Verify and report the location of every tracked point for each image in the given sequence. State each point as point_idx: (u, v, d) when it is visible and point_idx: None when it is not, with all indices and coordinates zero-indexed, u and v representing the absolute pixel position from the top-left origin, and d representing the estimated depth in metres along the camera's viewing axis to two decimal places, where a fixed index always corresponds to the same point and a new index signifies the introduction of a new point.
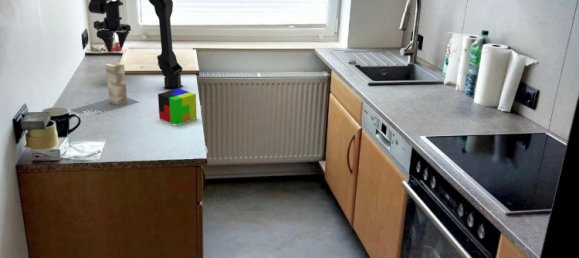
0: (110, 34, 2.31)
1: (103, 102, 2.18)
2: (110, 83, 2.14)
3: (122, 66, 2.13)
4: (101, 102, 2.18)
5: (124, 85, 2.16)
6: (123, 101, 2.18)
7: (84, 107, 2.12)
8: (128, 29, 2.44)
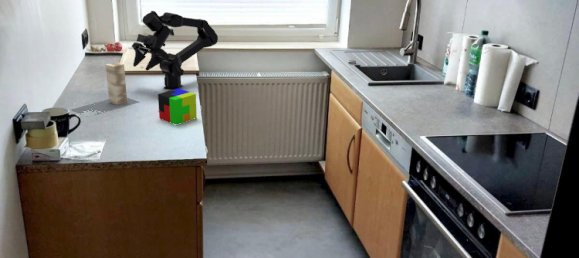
0: None
1: (103, 102, 2.18)
2: (110, 83, 2.14)
3: (122, 66, 2.13)
4: (101, 102, 2.18)
5: (124, 85, 2.16)
6: (123, 101, 2.18)
7: (84, 107, 2.12)
8: None
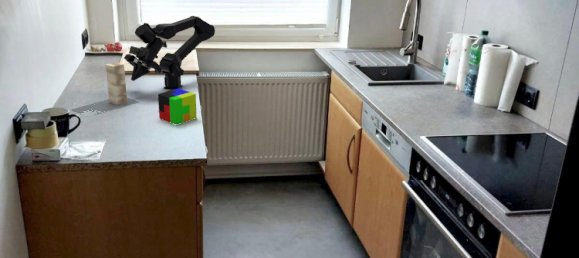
0: None
1: (103, 102, 2.18)
2: (110, 83, 2.14)
3: (122, 66, 2.13)
4: (101, 102, 2.18)
5: (124, 85, 2.16)
6: (123, 101, 2.18)
7: (84, 107, 2.12)
8: None
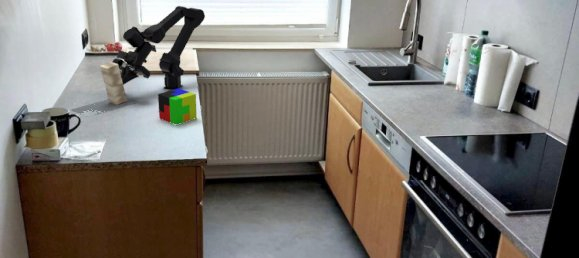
0: None
1: (103, 102, 2.18)
2: (107, 84, 2.13)
3: (116, 66, 2.11)
4: (101, 102, 2.18)
5: (121, 84, 2.15)
6: (123, 100, 2.17)
7: (84, 107, 2.12)
8: None
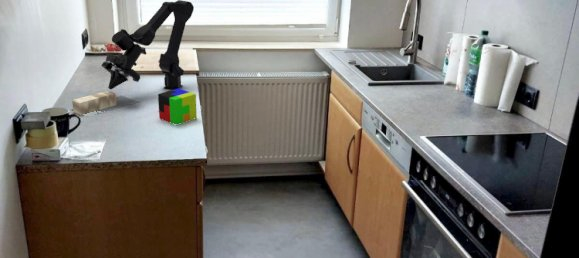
0: None
1: None
2: None
3: (81, 104, 2.03)
4: None
5: (99, 99, 2.08)
6: (114, 97, 2.14)
7: None
8: None
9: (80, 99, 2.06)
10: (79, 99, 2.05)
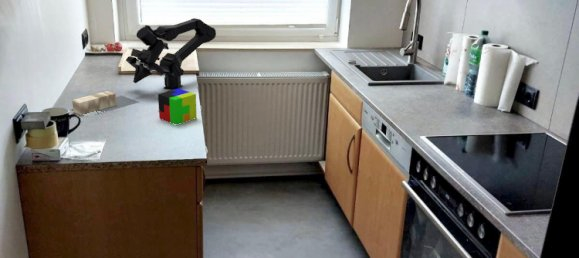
0: None
1: None
2: None
3: (81, 104, 2.03)
4: None
5: (99, 99, 2.08)
6: (114, 97, 2.14)
7: None
8: None
9: (80, 99, 2.06)
10: (79, 99, 2.05)
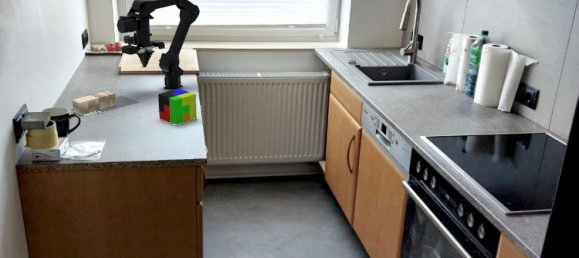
0: (133, 50, 2.16)
1: None
2: None
3: (81, 104, 2.03)
4: None
5: (99, 99, 2.08)
6: (114, 97, 2.14)
7: None
8: (161, 47, 2.27)
9: (80, 99, 2.06)
10: (79, 99, 2.05)
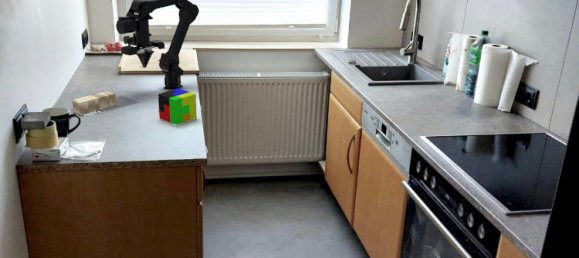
0: (132, 51, 2.16)
1: None
2: None
3: (81, 104, 2.03)
4: None
5: (99, 99, 2.08)
6: (114, 97, 2.14)
7: None
8: (161, 47, 2.27)
9: (80, 99, 2.06)
10: (79, 99, 2.05)
